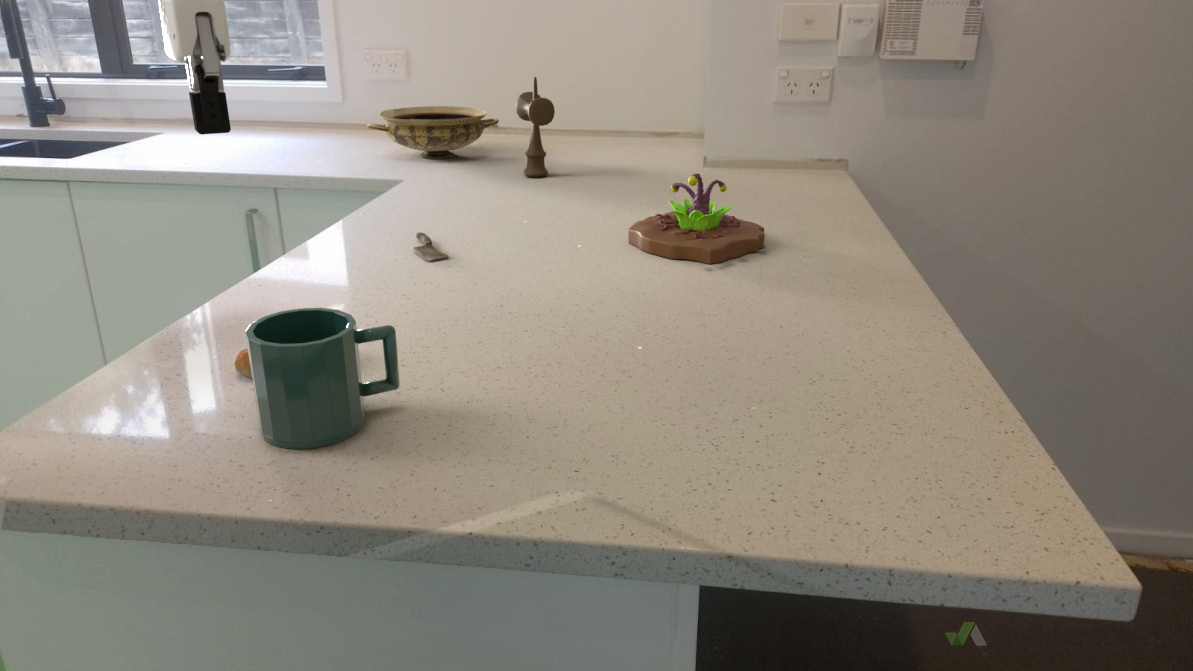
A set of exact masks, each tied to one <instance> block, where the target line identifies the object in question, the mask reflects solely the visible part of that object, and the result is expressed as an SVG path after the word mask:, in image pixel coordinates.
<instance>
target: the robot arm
mask: <svg viewBox="0 0 1193 671" xmlns="http://www.w3.org/2000/svg"><path fill="white" fill-rule="evenodd" d="M158 7H159V13H160V20H161V28H162V36H163V42H164V45H163V46H164V51H165V54H166V56H168V57H169V58H171V59H172V60H174V61H176V62H177V63H179V64H184V65H185V69H186V70H185V71H186V78H187V81H188V88H189V92H188V95H189V102H190V108H191V114H192V121H193V126H194V130H195V132H197V133H198V134H199V135H213V134H228V133H230V132H231V130H232V128H231V120H230V114H229V106H228V100H227V94H226V92H225V86H224V79H223V70H222V63H225V62H227V61H228V60H229V59H230V58H231V43H230V42H231V40H230V32H229V25H228V17H227V11H226V3H225V0H158Z"/></svg>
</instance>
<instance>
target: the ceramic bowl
mask: <svg viewBox="0 0 1193 671" xmlns="http://www.w3.org/2000/svg"><path fill="white" fill-rule="evenodd" d="M487 114H488V111H487V110H484V109H479V108H473V107H467V106H466V107H465V106H451V105H447V106H446V105H430V106H429V105H428V106H409V107H400V108H392V109H384V110H382V111H381V112H379V117H380V118H382V120H384V121H386V123H385V124H371V123H369V124H367V125H366V128H367V129H369V130H375V131H381V132H385V133H386V135H387V137H388V138H389V139H390V140H391V141H393V142H394V143H396V144H398V145H400V146H402V147H405V148H407V149H412V150H416V151H421V153H419V155H418V156H419V157H420V158H424V159H448V158H452V157H455V155H456V154H455V153H453V152H452V151H455V150H458V149H461V148H464V147H467V146H469V145H471V144H473V143H474V142H476V141H478V139H480V138H481V136H482V134H483V132H484V130H485V129H487V128H489V127H494V126H496V125H498V124H499V118H497V117H493V118H492V117H491V118H486V119H484V118H485V117H486V115H487Z"/></svg>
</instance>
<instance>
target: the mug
mask: <svg viewBox="0 0 1193 671" xmlns="http://www.w3.org/2000/svg"><path fill="white" fill-rule="evenodd" d="M244 333H245V340H246V348H248V354H249V360H250V367H251V373H252V378H251V380H252V385H253V392H254V399H255V405H256V412H257V417H258V419H257V420H258V424H259V427H260V434H261V436H262V438H263V439H264V440H265V441H266V442H267V443H268V444H270V445H273V446H275V447H278V448H282V449H288V450H289V449H290V450H309V449H311V450H312V449H318V448H324V447H328V446H331V445H334V444H338V443H340V442H343V441H345V440H347V439H349V438H351V437H352V436H355V435H356V433H358V432H359V431H360V430H361V429H362V427H363V425H364V424H365V412H366V411H365V400H364V397H369V396H373V395H378V394H383V393H384V394H385V393H388V392H389V393H390V392H393V391H397V390H398V389H399V388H400V384H401V383H400V370H399V369H400V368H399V357H398V356H399V355H398V344H397V331H396V328H395V327H394V326H393V325H390V324H387V325H381V326H375V327H370V328H363V329H358V328H357V321H356V319H355V318H354V316H352V314H350V313H347V312H345V311H342V310H340V309H334V308H326V307H302V308H301V307H300V308H294V309H287V310H281V311H278V312H274V313H271V314H268V315H265V316H262V317H261V318H259V319H256V320H254V321H253V322H251V323H249V325H248V327H247V328H246V330H245V332H244ZM377 341H382V350H383V361H384V362H383V363H384V373H385V378H383V379H379V380H374V381H369V382H363V381H362V370H361V359H360V349H359V348H360V347H359V345H361V344H365V343H371V342H377Z"/></svg>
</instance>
